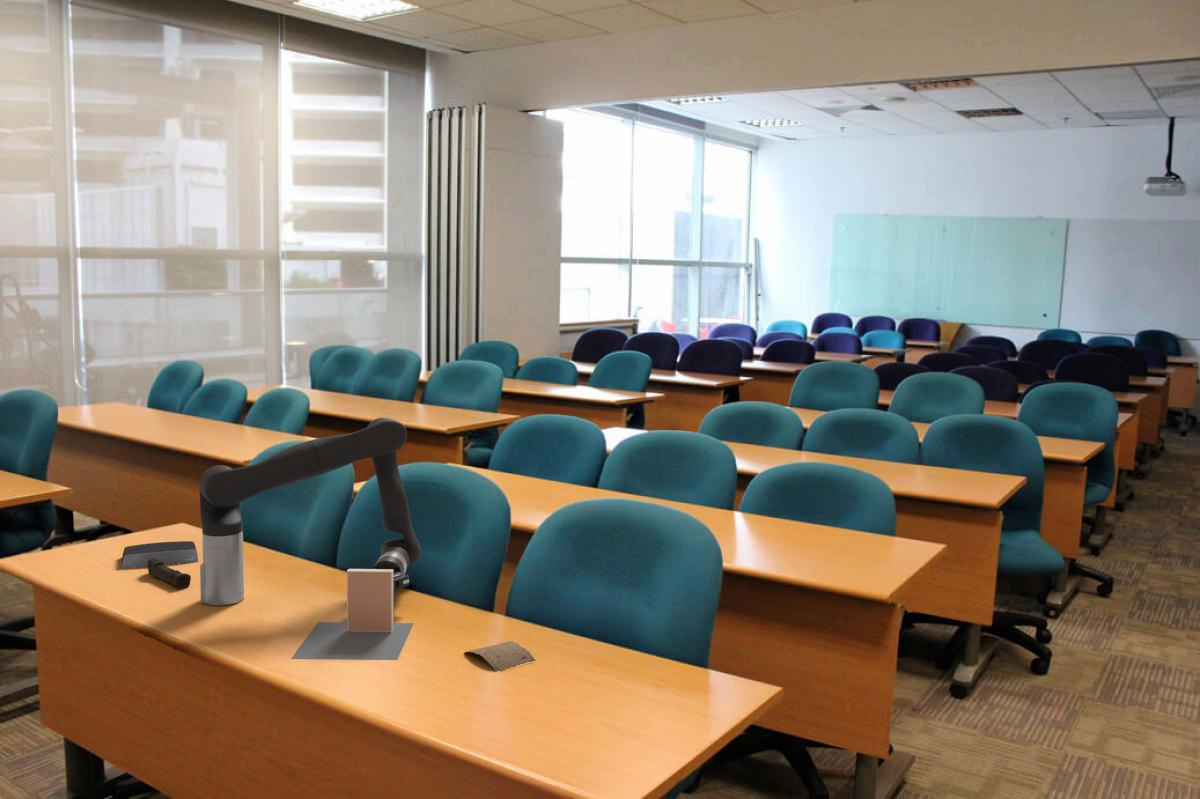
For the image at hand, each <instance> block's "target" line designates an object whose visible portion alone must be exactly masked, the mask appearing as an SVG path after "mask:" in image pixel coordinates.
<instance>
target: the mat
mask: <svg viewBox="0 0 1200 799" xmlns="http://www.w3.org/2000/svg"><path fill="white" fill-rule="evenodd" d="M413 626H414V623H413V622H393V631H392V632H363V631H347V621H343V622H342V621H338V622H337V621H318V622H316V624H315V626H314V627H313V628H312V630H311V631H310V632H309V634H307V636H306V637H305V639H304V640H303V641H302V643H301V644H300V646H299V647H298V648H297V650H296V651H295V653H293V655H292V656H291V658H290V659H291V660H354V661H355V660H357V661H358V660H363V661H364V660H365V661H367V660H372V661H376V660H377V661H378V660H380V661H398V659H399V657H400V655H401V653H402V650H403V648H404V646H405V643H406V641H407V640H408V637H409V636H410V633H411V630H412V628H413Z"/></svg>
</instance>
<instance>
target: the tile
mask: <svg viewBox="0 0 1200 799" xmlns="http://www.w3.org/2000/svg"><path fill="white" fill-rule="evenodd" d="M346 588H347V589H346V603H347V604H346V613H347V614H346V615H347V616H346V620H347V621H346V622H347V631H363V632H392V631H393V623H394V591H393V569H373V568H348V569H347V571H346Z"/></svg>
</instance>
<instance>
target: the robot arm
mask: <svg viewBox="0 0 1200 799" xmlns="http://www.w3.org/2000/svg"><path fill="white" fill-rule="evenodd" d="M407 431H408V430H407V429H406V426H405V425H404V424H403V423H402V422H400V421H398V420H397V419H394V418H390V417H377V418H375V419H373V420H371V422H369V424H367V427H365V428H363V429H360V430H357V431H353V432H351V433H347V434H338V435H332V436H331V435H330V436H326V437H325V436H324V437H319V438H315V439H311V440H307V441H304V442H300V443H297V444H294V445H291V446H288V447H287V448H284V449H282V450H281V451H278V452H277V453H275V454H273V455H272V456H270V457H268V458H266V459H264V460H262V461H259V462H256V463H254V464H251V465H246V466H242V467H238V468H237V467H236V468H232V467H230V466H227V465H222V464H221V465H220V464H218V465H213V466H211V467H209V468H207V469H206V470H205V471H204V472H203V474H202V475H201V477H200V480H199V510H200V521H201V529H202V530H201V532H202V533H201V534H202V563H201V564H200V565H199V577H200V578H199V581H200V585H199V586H200V587H199V588H200V604H205V605H206V604H207V605H209V606H210V605H211V606H228V605H234V604H238V603H240V602H242V601H243V600H245V586H244V585H245V583H244V582H245V581H244V579H245V578H244V575H245V572H244V569H245V568H244V532H243V531H244V530H243V529H244V528H243V527H244V524H243V517H242V512H241V503H242V502H243V501H245V500H248V499H250V498H253V497H254V496H257V495H259V494H262V493H265V492H267V491H270V490H274V489H278V488H281V487H286V486H289V485H293V484H296V483H300V482H303V481H307V480H310V479H312V478H316V477H318V476H322V475H325V474H328V473H330V472H332V471H336V470H338V469H341V468H344V467H345V466H348V465H351V464H353V463H355V462H359V461H362V460H365V459H369V458H371V459H372V463H373V467H374V471H375V476H376V481H377V486H378V487H377V488H378V493H379V500H380V508H381V515H382V522H383V523H382V524H383V527H384V529H385V531H387V532H393V533H394V532H396V533H400V534H401V536H403V537H400V538H392V539H387V540H385V541H384V542H383V543H381V546H380V557H379V558H378V559H377V561H376V562H375V564H374V565H373V567H372V569H393V592H394V591H397V590H399V589H404V588H406V587H409V585H410V576H409V575H408V574H406V572H407V568H408V567H409V565H412V564H416V563H418V562H419V561H420V559H421V555H422V548H421V545H420V542H419V540H418V538H417V535H416V533H415V531H414V529H413V526H412V522H411V517H410V511H409V510H410V509H409V503H408V501H409V500H408V498H407V496H408V495H407V494H406V490H405V486H404V483H403V481H402V478H401V474H400V471H399V470H400V469H399V466H398V465H399V464H398V458H397V452H398V451H399V450H401V449H402V448H403V446H404V445H405V444H406V442H407V439H408V432H407Z"/></svg>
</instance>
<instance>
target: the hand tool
mask: <svg viewBox="0 0 1200 799" xmlns="http://www.w3.org/2000/svg"><path fill="white" fill-rule="evenodd" d="M146 568H147V572H148V574H149V576H150V577H151V578H153V579H160V580H161V581H165V582H166V583H169V584H171V585H172V586H175V589H177V590H183V589H187V588H189V586H190V585H191V580H192V576H191V575H190V574H189V573H183V572H181V571H180V570H176V569H173V568H170V567H168V566H167V565H163V562H162V561H160V560H157V559H150V560H148V564H147V567H146Z"/></svg>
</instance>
